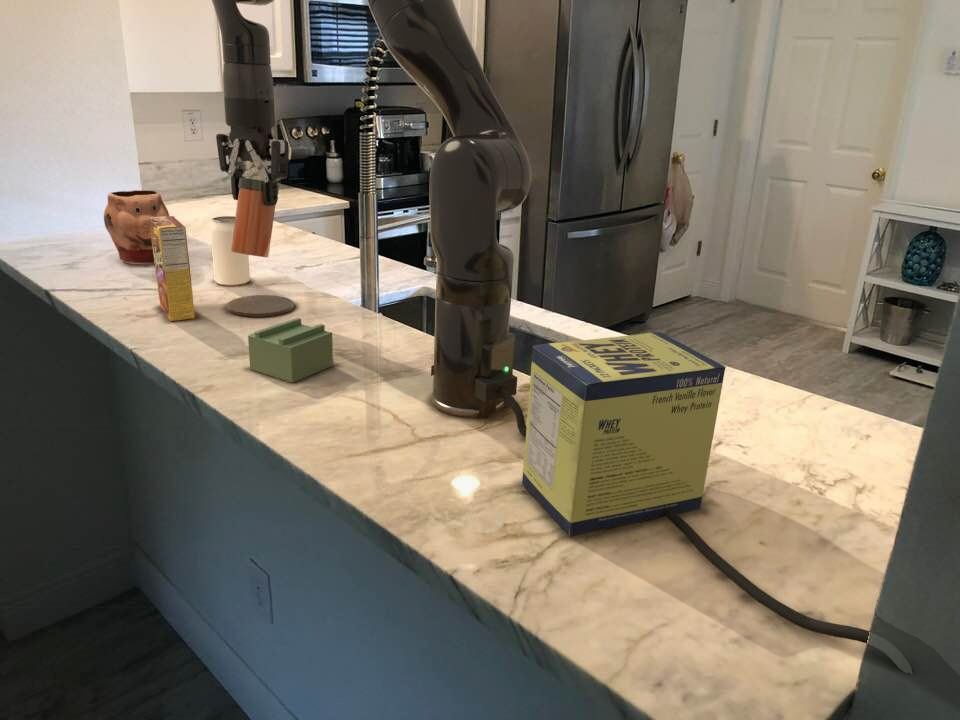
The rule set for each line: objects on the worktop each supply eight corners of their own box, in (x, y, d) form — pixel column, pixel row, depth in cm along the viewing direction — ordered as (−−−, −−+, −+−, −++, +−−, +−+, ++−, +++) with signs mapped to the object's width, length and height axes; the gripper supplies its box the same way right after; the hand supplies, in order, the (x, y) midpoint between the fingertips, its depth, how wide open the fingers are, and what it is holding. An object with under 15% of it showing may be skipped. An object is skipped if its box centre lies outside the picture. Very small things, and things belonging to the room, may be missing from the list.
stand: (333, 365, 107) (332, 326, 105) (292, 383, 101) (290, 342, 99) (291, 353, 111) (290, 315, 109) (249, 369, 105) (247, 329, 103)
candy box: (157, 306, 129) (147, 216, 123) (184, 304, 131) (175, 215, 125) (167, 322, 121) (158, 227, 116) (195, 318, 124) (187, 225, 118)
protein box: (703, 509, 76) (729, 364, 71) (568, 539, 70) (584, 383, 65) (643, 461, 85) (661, 330, 80) (518, 484, 79) (529, 343, 74)
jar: (259, 183, 129) (230, 176, 123) (287, 186, 126) (259, 179, 120) (250, 253, 130) (221, 249, 125) (277, 259, 127) (249, 255, 122)
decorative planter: (94, 252, 161) (85, 186, 156) (152, 246, 169) (146, 182, 164) (128, 273, 147) (120, 200, 142) (190, 265, 155) (184, 196, 150)
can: (239, 287, 142) (235, 223, 137) (207, 284, 143) (202, 220, 138) (256, 279, 148) (252, 217, 143) (225, 276, 149) (221, 214, 144)
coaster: (306, 306, 133) (306, 302, 133) (259, 321, 124) (259, 317, 124) (261, 294, 138) (261, 291, 138) (213, 308, 129) (212, 304, 129)
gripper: (198, 92, 119) (206, 199, 125) (264, 97, 112) (269, 211, 118) (235, 92, 125) (241, 194, 131) (300, 97, 118) (303, 205, 124)
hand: (255, 202), depth 125 cm, fingers closed on jar, 6 cm apart
